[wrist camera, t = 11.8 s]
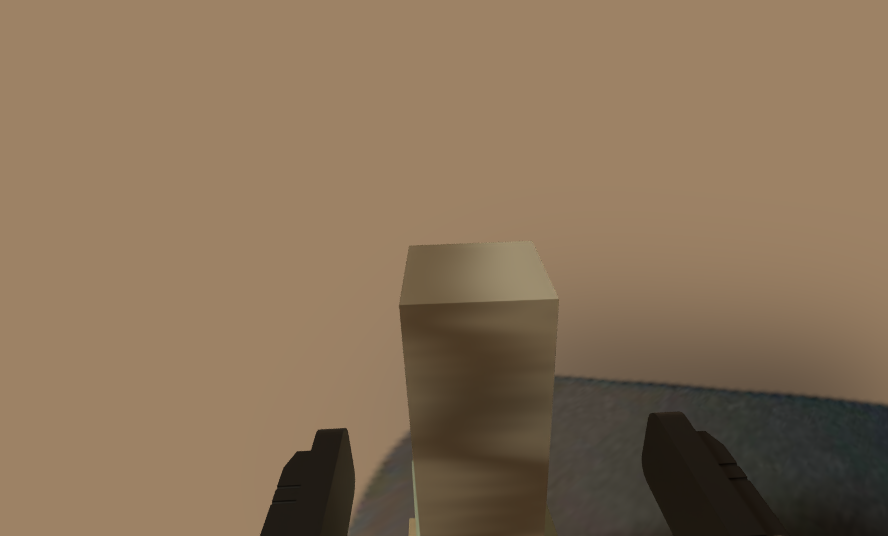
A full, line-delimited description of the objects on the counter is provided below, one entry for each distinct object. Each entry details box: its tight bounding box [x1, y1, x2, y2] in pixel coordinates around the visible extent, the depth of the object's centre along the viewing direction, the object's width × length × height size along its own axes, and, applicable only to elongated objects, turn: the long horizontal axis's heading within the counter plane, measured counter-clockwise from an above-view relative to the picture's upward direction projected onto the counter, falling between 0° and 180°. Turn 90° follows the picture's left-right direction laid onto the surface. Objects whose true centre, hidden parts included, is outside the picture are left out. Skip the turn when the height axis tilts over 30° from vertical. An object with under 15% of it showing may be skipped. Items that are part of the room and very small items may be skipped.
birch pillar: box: [399, 241, 559, 536], centre depth 18 cm, size 4×4×11 cm
